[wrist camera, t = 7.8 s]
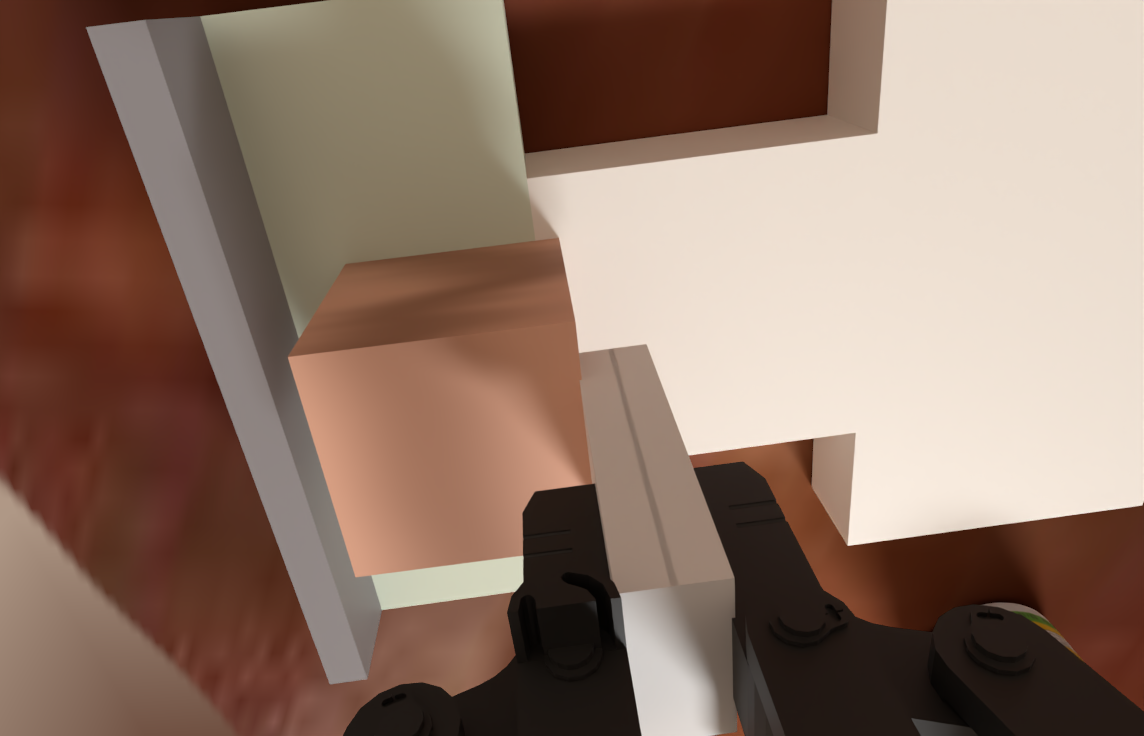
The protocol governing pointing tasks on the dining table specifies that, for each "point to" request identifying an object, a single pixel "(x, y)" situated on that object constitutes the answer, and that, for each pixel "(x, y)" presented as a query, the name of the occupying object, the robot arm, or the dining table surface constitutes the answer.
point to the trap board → (686, 250)
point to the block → (443, 401)
